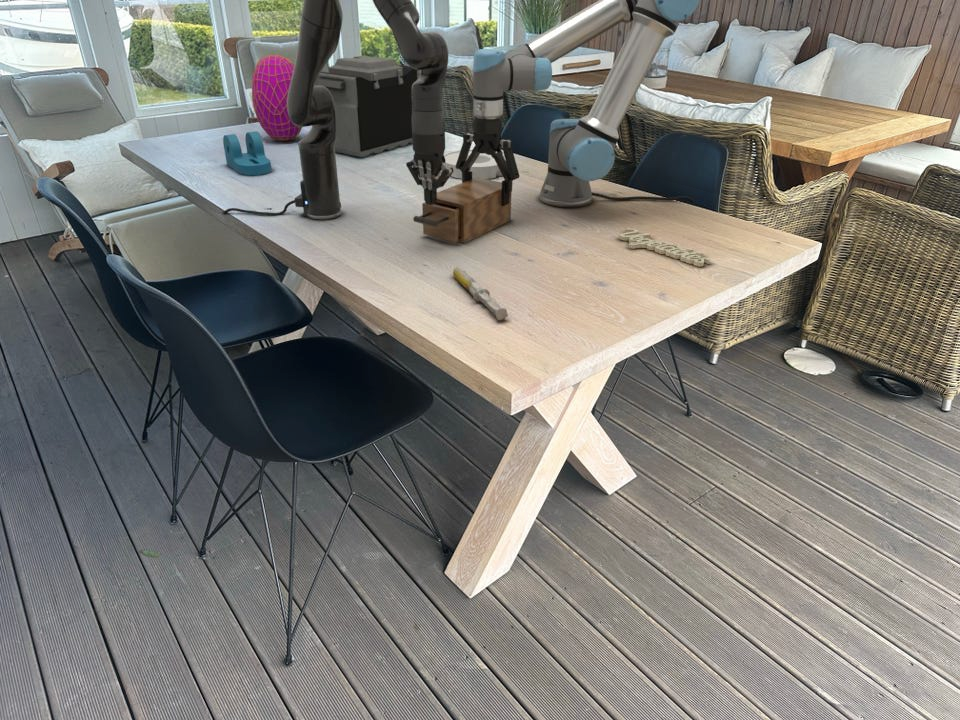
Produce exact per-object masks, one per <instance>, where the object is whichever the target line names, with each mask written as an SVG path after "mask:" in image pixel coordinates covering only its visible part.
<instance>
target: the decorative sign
mask: <svg viewBox="0 0 960 720" xmlns="http://www.w3.org/2000/svg"><path fill="white" fill-rule="evenodd" d="M618 239H619V240H620V241H624V242H625V241H628V243H629V244H628V249H632V250H633V249H646V250H649V251H654V253H657V254H660V255H664V256H667V257H671V258H673V259H675V260H680V261H681V262H683V263H684V262H685V263H687V264H690V265H693V266H695V267H703V266H704V265H705V264H706V265H710V264H711V263H710V262H711V259H710V258H709V257H704V254H705V253H704V252H703V251H694V248H691V247H690V248H689V247H688V248H679V247H678V245H676V244H674V243H673V242H667V241H662V242H661V241H656V240H653V239H651V233H647V232H646V233H639V230H638V229H635V228H627V227H626V228H625V231H624V232H623V233H620V234H619V237H618Z"/></svg>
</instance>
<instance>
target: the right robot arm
mask: <svg viewBox="0 0 960 720" xmlns="http://www.w3.org/2000/svg"><path fill="white" fill-rule="evenodd" d="M699 2H700V0H597V1H595V2H593V3H592V4H590V5H588V6H586V7H585V8H584V9H581V10H580V11H578V12H577V13H574V14H573V15H571V16H570V17H568V18H567V19H565V20H563V21H561V22H560V23H558V24H557V25H554V26H552V27H551V28H549V29H548V30H546V31H544V32H543V33H541V34H540V35H538V36H536V37H534V38H533V39H531V40H529V41H528V42H525V44H523V45H520V46H519V47H517V48H515V49H509V50H506V51H504V50H503V49H499V48H480V49H477V50H476V51H475V52H474V54H473V65H472V66H473V67H472V93H473V95H472V101H473V102H472V106H473V107H472V114H473V115H474V116H473V117H472V131H473V133H472V132H468V133H464V134H463V135H462V144H461V148H460V150H461V151H460V154H459V157H458V160H457V163H456V169H459V170H461V172H462V179H461V183H463V182H466V181H468V180H471V179H472V171H469V170H471V169H470V168H471V167H472V165H473V164H474V162H475V161H476V159H477V158H478V156H479V154H480V153H482V154H483V153H485V154H487V155H491V156H492V158H494V159H495V161H496V163H497V166H498V168H499V170H500V172H501V174H502V176H501V177H503V180H501V182H502V199H501V206H505V205H507V204H509V196H510V193H511V194H512V192H513V181H515V180H517V179H519V178H520V172H519V168H518V166H517V161H516V158H515V154H514V149H513V140H512V139H503V137H502V132H503V114H504V92H511V91H512V92H514V91H515V92H519V91H520V92H521V91H523V92H524V91H525V92H526V91H527V92H528V91H530V92H531V91H533V92H538V91H546V90H548V89H549V88H550V86H551V84H552V79H553V68H552V64H553V63H554V62H556V61H557V60H559V59H561V58H563V57H564V56H566V55H568V54H569V53H571V52H573V51H575V50H577V49H578V48H580V47H582V46H584V45H585V44H587V43H588V42H590V41H592V40H594V39H595V38H597V37H599V36H601V35H602V34H604V33H605V32H607V31H609V30H610V29H613V28H614V27H616V26H618V25H620V24H621V23H623V24H627V25H628V24H630V23H632V22H633V24H632V26H631V28H630V30H629V33H628V35H627V36H626V38H625V40H624V42H623V44H622V46H621V48H620V51H619V52H618V55H617V57H616V58H615V61H614V62H613V64H612V67H611V69H610V70H609V72H608V75H607V77H606V79H605V81H604V83H603V85H602V86H601V88H600V91H599V93H598V95H597V97H596V99H595V101H594V102H593V105H592V107H591V108H590V111H589V113H588V114H587V115H585V116H582V117H580V118H558V119H554V120H552V122H551V123H550V127H549V128H550V129H549V132H548V134H549V141H548V142H549V144H548V156H547V157H548V159H547V173H546V176H545V178H544V181H543V184H542V187H541V189H540V192H539V200H540V202H542V203H543V204H546V205H549V206H553V207H558V208H559V207H560V208H580V207H584V206H588V205H589V204H591V203H592V199H593V197H598V198H601V199H606V200H609V201H636V200H649V201H668V202H670V201H671V202H672V201H678V200H687V201H689V202H690V203H693V204H694V203H695V200H694V199H693V198H692V197H690V196H687V195H680V196H674V197H667V196H664V197H663V196H644V195H643V196H641V195H639V196H621V197H617V196H609V195H605V194H601V193H596V192H592V188H591V184H590V182H595V181H598V180H601V179H602V178H604V177H605V176H606V175H608V174H609V172H610V171H611V170H612V168H613V166H614V163H615V158H616V155H615V147H616V146H617V143H618V142H619V140H620V136H619V131H618V130H619V127H620V126H621V123H622V122H623V119H624V117H625V116H626V114H627V112H628V110H629V108H630V106H631V104H632V102H633V100H634V98H635V97H636V95H637V92H638V91H639V89H640V86H642V83H643V81H644V79H645V77H646V76H647V74H648V72H649V69H650V68H651V66H652V64H653V62H654V60H655V58H656V56H657V54H658V53H659V50H660V49H661V47H662V45H663V43H664V41H665V39H666V38H668V37H672V36H674V34H675V33H676V31H677V29H678V27H679V25H680V24H681V21H684V20H686V19H687V18H689V17H690V16H692V14H693V13H694V12H695V11H696V9H697V7H698V5H699ZM473 143H474V147H473V148H472V149H473V150H472V153H471V154H470V156H469V157H468V159H467V156H468V153H469V150H470V149H471V147H472V144H473ZM496 152H497V153H496ZM503 154H504V156H505V159H504V157H503ZM466 159H467V160H466ZM505 160H506V161H505Z"/></svg>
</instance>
